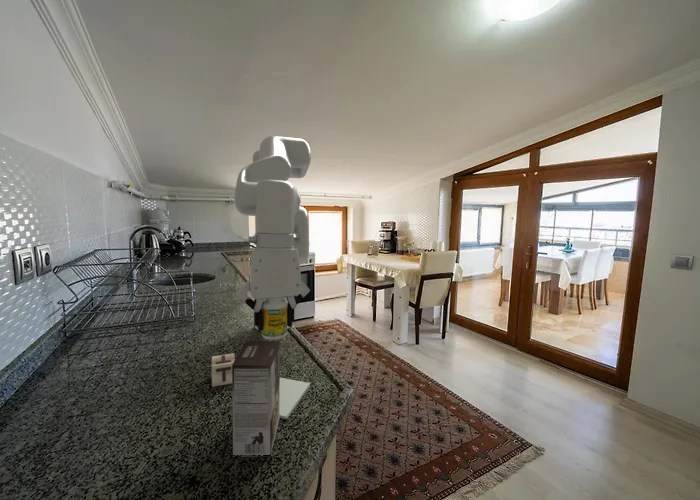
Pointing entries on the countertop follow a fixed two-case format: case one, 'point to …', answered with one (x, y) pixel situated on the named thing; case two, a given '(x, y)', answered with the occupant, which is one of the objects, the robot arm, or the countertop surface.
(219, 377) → the letter cube
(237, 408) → the coffee box
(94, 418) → the countertop surface
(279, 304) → the supplement bottle
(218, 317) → the countertop surface
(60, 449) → the countertop surface
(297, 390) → the sage pad
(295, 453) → the countertop surface
